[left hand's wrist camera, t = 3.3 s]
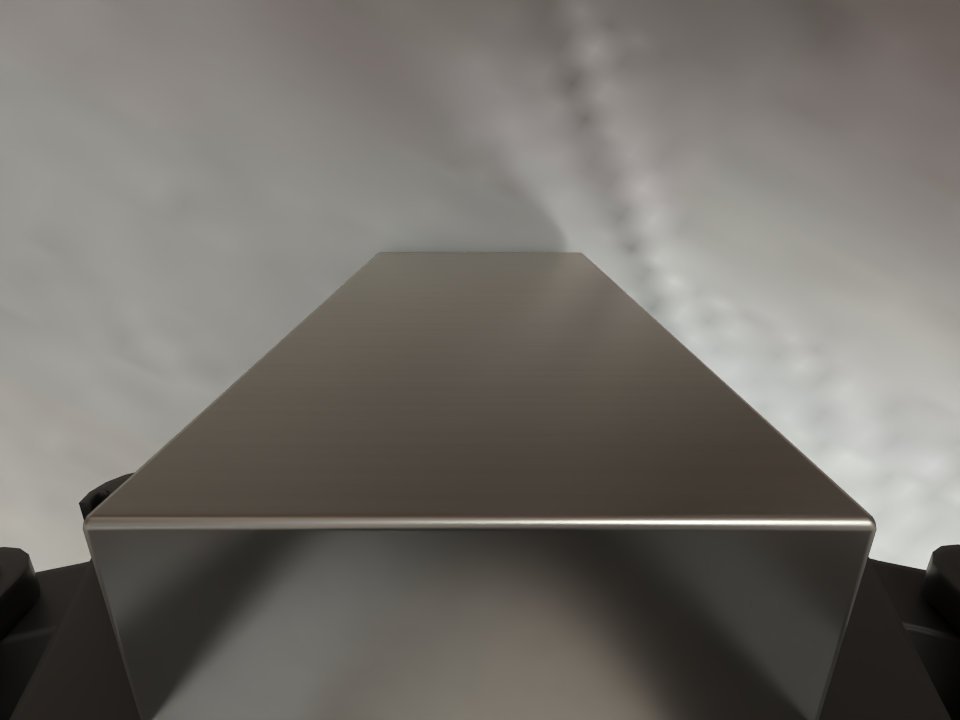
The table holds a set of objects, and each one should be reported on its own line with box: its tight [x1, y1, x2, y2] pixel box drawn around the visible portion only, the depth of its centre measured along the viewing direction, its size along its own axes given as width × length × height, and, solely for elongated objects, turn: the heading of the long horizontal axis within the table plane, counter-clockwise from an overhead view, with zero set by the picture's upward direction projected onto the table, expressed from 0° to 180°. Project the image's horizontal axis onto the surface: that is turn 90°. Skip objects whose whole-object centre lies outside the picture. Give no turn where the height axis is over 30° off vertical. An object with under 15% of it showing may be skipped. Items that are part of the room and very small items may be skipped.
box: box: [83, 253, 876, 720], centre depth 14 cm, size 20×6×13 cm, turn 0°
